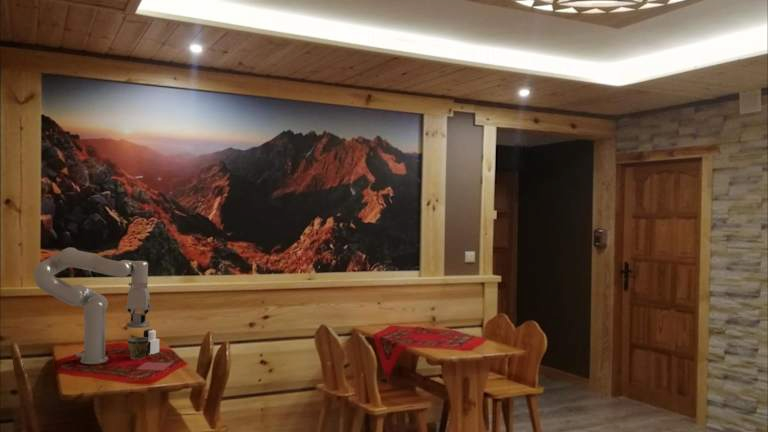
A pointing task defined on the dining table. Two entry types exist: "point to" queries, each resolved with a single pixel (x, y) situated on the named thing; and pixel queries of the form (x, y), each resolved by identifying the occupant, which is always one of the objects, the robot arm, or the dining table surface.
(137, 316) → the lid
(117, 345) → the dining table surface
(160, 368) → the mat
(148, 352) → the medicine bottle
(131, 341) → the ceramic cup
